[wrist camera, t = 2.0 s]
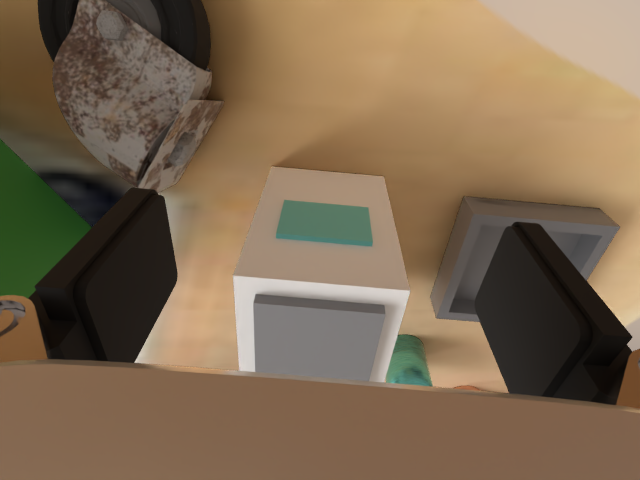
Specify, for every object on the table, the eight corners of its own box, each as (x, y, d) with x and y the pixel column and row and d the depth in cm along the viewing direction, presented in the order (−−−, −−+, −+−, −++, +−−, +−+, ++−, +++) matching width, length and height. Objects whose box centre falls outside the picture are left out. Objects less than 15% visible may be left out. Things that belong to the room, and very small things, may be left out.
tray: (542, 306, 33) (556, 328, 31) (430, 297, 33) (436, 318, 31) (599, 208, 28) (620, 226, 26) (463, 196, 28) (473, 213, 26)
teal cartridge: (418, 363, 38) (433, 437, 32) (378, 359, 38) (386, 434, 32) (427, 336, 36) (446, 411, 30) (385, 333, 36) (395, 407, 30)
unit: (363, 285, 33) (374, 427, 22) (270, 277, 33) (239, 416, 22) (384, 172, 27) (414, 294, 16) (271, 162, 27) (229, 279, 16)
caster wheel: (125, -71, 22) (271, 42, 23) (52, 100, 25) (183, 188, 27) (40, -142, 16) (247, 19, 17) (-44, 98, 19) (136, 213, 20)
